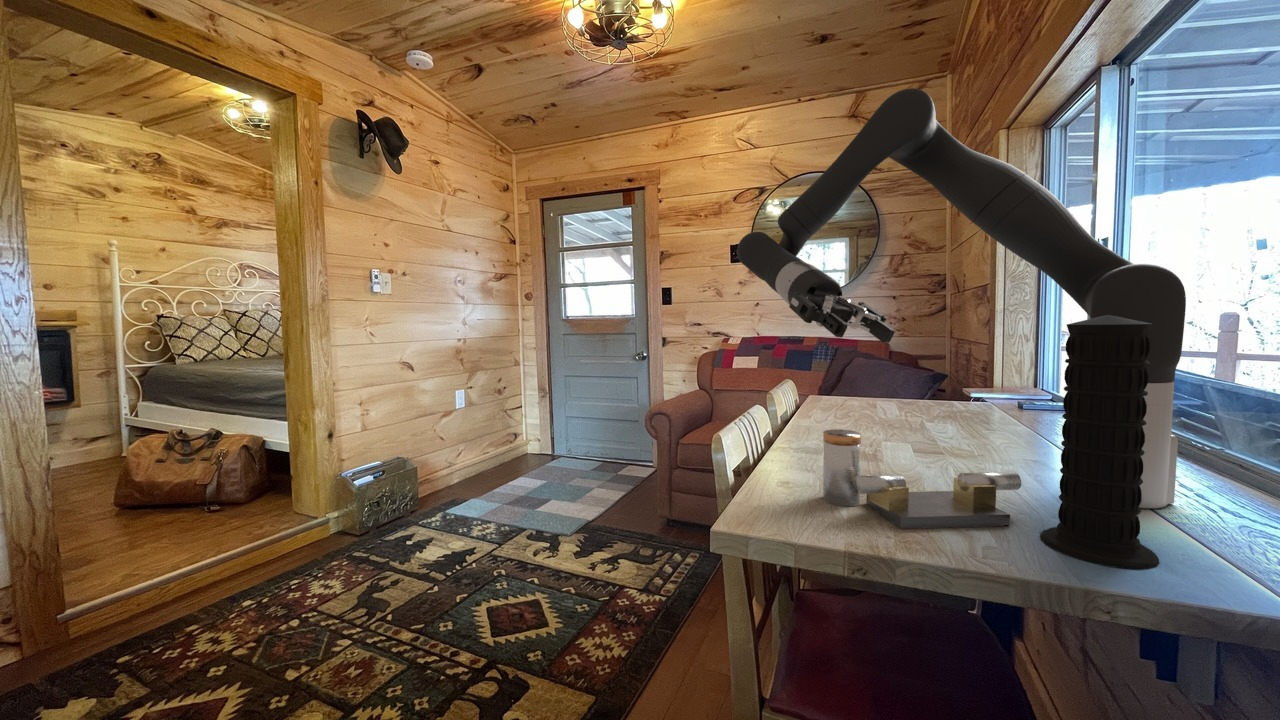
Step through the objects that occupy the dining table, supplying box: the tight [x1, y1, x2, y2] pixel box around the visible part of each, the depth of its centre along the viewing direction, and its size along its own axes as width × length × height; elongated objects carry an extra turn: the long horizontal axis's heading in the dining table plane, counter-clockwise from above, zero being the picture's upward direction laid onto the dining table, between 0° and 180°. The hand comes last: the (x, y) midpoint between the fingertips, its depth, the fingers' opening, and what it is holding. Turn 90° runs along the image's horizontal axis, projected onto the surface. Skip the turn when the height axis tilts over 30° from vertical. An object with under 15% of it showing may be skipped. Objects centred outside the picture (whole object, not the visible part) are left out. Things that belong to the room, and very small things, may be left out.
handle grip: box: [1039, 315, 1161, 570], centre depth 56 cm, size 10×26×10 cm
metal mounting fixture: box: [853, 471, 1022, 530], centre depth 67 cm, size 22×9×6 cm, turn 91°
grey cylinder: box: [822, 429, 862, 508], centre depth 73 cm, size 5×5×10 cm
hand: (867, 334), depth 71 cm, fingers open, 8 cm apart
